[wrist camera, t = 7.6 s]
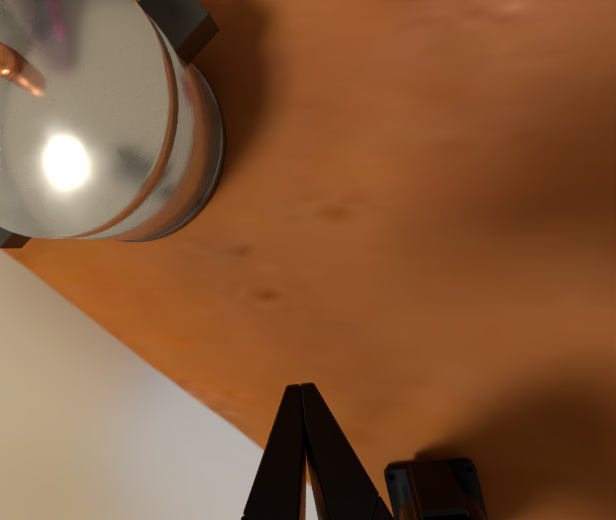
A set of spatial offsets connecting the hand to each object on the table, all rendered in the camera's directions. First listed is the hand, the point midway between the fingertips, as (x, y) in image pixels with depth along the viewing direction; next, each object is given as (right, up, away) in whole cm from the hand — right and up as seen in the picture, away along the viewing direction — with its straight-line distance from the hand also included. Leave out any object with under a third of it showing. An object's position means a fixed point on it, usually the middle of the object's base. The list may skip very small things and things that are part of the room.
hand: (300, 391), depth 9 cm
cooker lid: (-17, +15, +9) cm, 24 cm away
